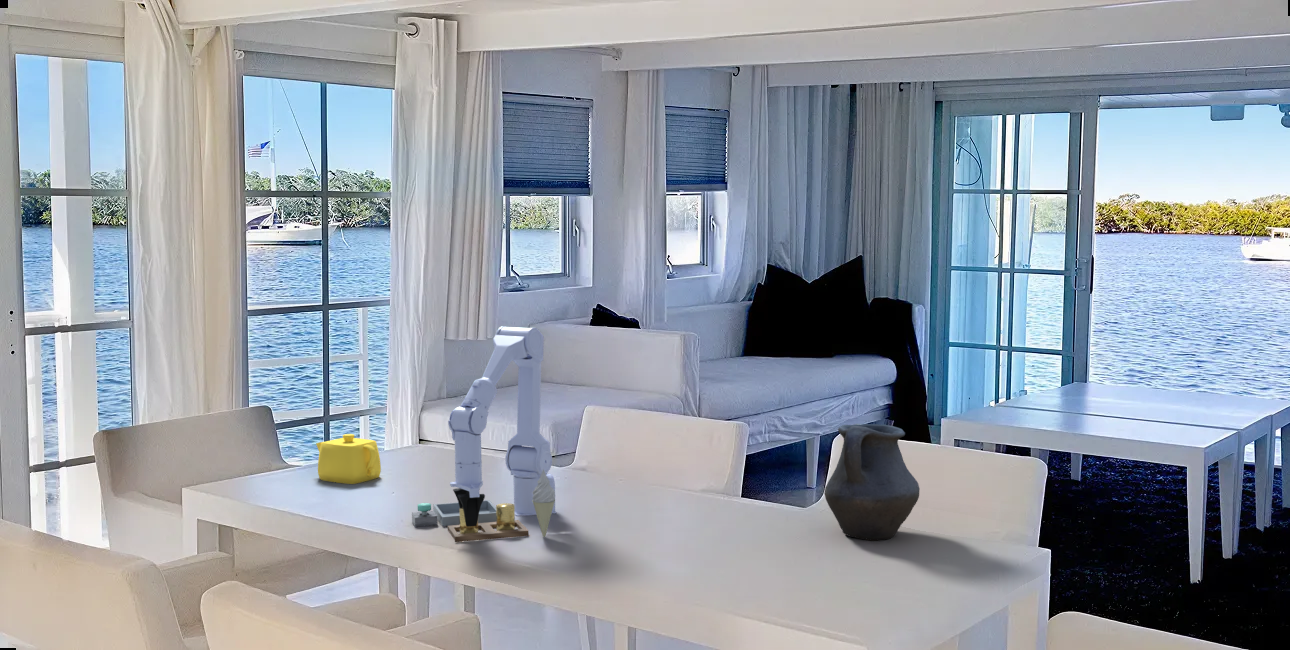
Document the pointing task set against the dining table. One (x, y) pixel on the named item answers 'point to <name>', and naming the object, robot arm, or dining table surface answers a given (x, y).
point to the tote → (451, 515)
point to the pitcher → (871, 483)
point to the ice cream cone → (543, 502)
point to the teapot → (348, 460)
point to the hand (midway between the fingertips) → (469, 523)
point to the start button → (424, 508)
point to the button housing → (424, 519)
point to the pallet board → (488, 532)
